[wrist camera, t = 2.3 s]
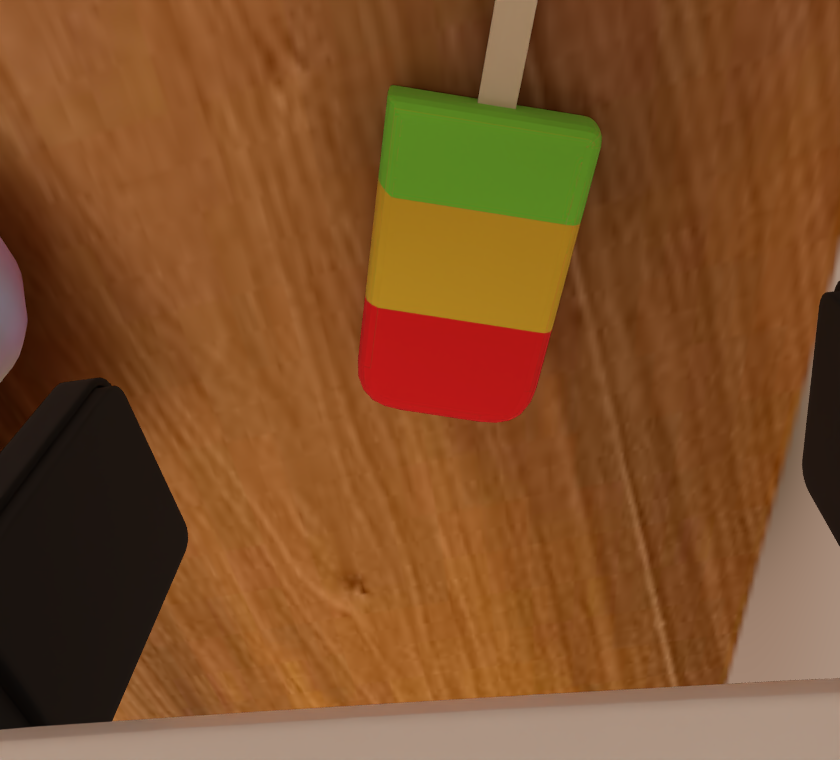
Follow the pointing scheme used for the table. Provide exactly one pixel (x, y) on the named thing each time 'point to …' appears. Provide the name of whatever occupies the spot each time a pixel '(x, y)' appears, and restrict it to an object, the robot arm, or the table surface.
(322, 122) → the table surface
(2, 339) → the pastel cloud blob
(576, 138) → the popsicle
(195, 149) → the table surface
